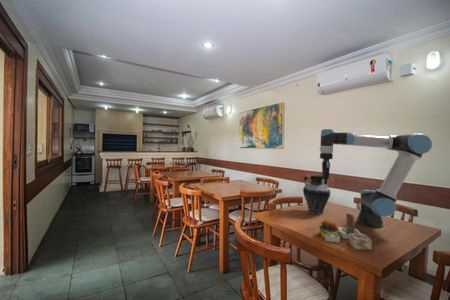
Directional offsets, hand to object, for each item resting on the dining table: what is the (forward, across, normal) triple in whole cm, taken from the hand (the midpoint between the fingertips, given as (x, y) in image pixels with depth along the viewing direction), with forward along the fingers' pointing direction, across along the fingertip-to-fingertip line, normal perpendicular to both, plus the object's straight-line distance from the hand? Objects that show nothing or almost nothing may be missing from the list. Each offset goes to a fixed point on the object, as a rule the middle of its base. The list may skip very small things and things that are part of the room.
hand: (324, 188), depth 143 cm
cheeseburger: (+25, +17, -1) cm, 30 cm away
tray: (+24, +13, +12) cm, 30 cm away
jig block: (+24, +26, +13) cm, 38 cm away
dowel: (+24, +13, +12) cm, 30 cm away
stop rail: (+24, +24, 0) cm, 34 cm away
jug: (+25, -28, -1) cm, 37 cm away
